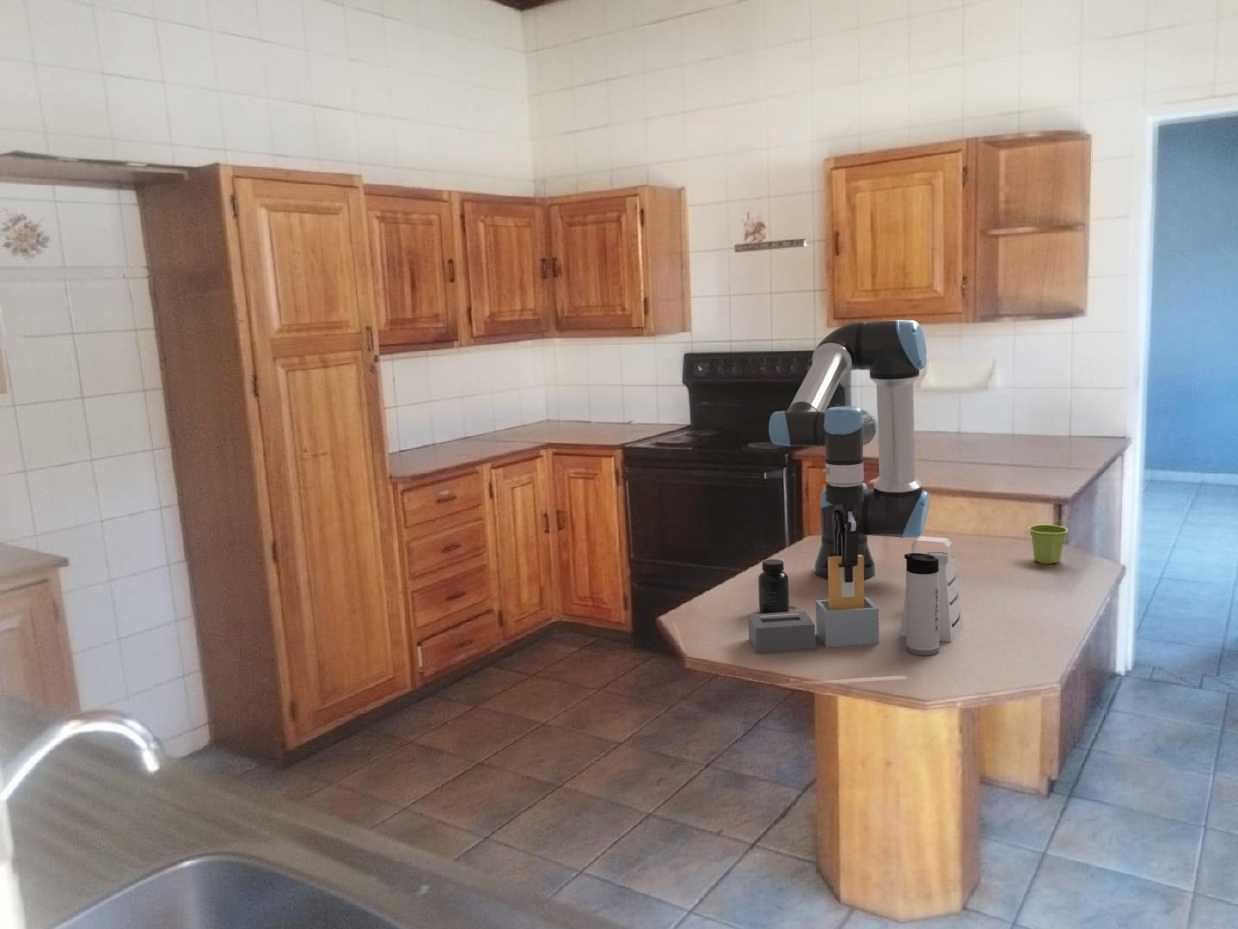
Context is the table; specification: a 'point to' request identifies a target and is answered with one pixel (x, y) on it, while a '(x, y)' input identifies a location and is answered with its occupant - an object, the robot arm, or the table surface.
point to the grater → (943, 593)
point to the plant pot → (1047, 542)
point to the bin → (847, 624)
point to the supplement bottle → (773, 588)
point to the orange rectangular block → (835, 585)
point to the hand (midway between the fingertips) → (846, 594)
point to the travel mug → (922, 604)
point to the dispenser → (781, 632)
